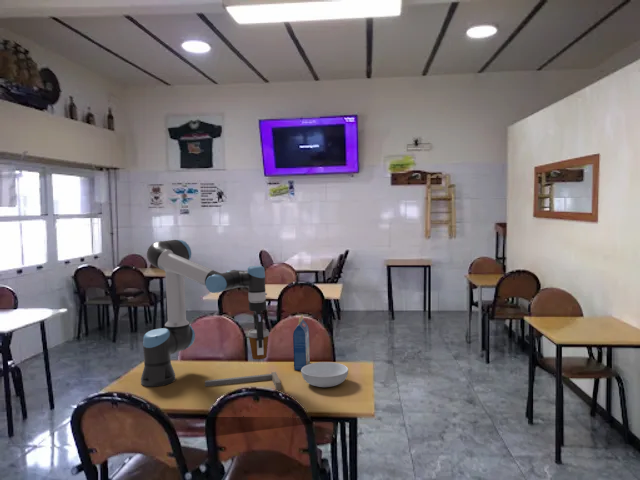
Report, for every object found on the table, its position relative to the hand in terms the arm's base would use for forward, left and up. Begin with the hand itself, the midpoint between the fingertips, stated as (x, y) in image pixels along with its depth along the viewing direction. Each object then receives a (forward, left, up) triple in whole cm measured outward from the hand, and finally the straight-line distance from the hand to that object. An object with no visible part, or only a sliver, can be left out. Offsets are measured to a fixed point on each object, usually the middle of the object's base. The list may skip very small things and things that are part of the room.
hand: (259, 351), depth 215 cm
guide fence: (-8, 0, -15) cm, 17 cm away
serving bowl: (+28, -7, -15) cm, 33 cm away
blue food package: (+23, +20, -15) cm, 34 cm away
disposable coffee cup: (0, 0, -3) cm, 3 cm away
